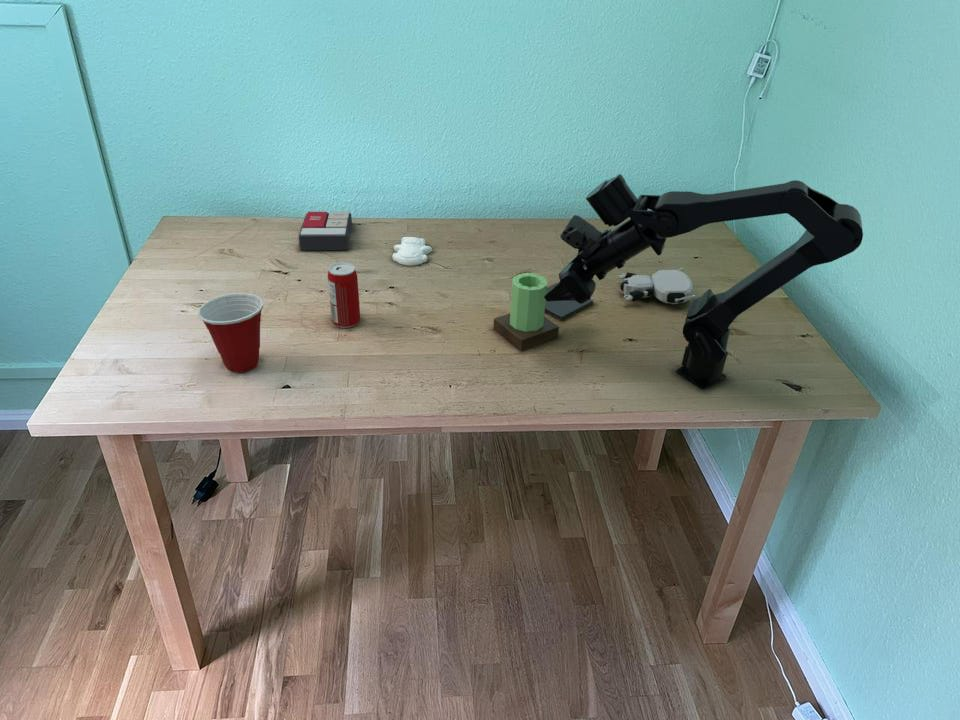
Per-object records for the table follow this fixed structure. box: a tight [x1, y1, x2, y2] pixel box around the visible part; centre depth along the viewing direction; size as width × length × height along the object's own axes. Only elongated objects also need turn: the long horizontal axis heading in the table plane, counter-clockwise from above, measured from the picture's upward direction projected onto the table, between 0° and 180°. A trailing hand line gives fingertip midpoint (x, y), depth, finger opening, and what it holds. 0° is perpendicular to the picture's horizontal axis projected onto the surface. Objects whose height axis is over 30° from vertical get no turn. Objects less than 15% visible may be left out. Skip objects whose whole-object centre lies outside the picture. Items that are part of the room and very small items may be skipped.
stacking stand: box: [492, 312, 560, 352], centre depth 136 cm, size 9×9×7 cm
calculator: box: [298, 211, 353, 251], centre depth 169 cm, size 11×4×15 cm
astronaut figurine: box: [391, 236, 433, 267], centre depth 163 cm, size 9×12×3 cm
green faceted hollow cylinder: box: [509, 272, 548, 332], centre depth 134 cm, size 6×7×9 cm
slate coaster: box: [544, 282, 594, 322], centre depth 148 cm, size 10×10×1 cm
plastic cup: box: [197, 292, 264, 374], centre depth 123 cm, size 11×11×12 cm
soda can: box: [327, 261, 361, 329], centre depth 136 cm, size 6×6×12 cm
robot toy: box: [617, 267, 696, 305], centre depth 150 cm, size 12×4×15 cm
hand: (553, 287), depth 130 cm, fingers open, 9 cm apart
